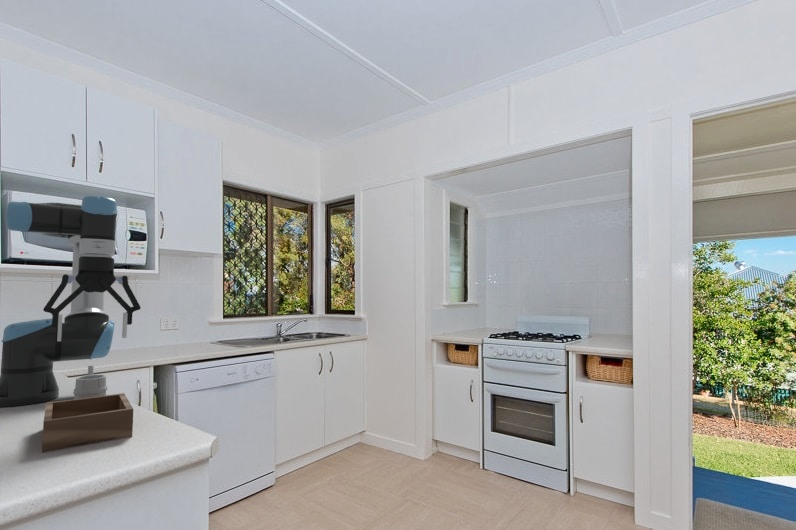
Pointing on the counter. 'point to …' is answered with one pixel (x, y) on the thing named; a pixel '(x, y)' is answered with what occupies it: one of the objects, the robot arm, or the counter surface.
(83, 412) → the wooden box
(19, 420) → the counter surface
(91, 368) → the mug
